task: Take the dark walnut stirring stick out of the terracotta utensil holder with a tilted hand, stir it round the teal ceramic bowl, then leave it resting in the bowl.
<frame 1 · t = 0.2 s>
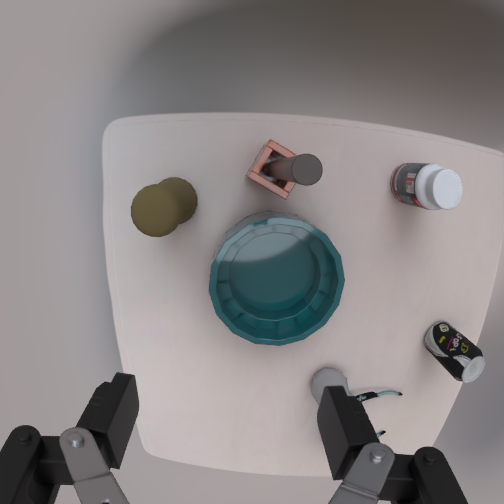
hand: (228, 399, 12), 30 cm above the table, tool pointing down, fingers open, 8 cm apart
salt shaker: (325, 376, 48), on the table
cork: (174, 201, 40), on the table
beverage can: (435, 333, 47), on the table
stick: (271, 169, 39), resting on holder
pill bottle: (406, 183, 41), on the table
bowl: (272, 270, 42), on the table
holder: (270, 169, 39), on the table
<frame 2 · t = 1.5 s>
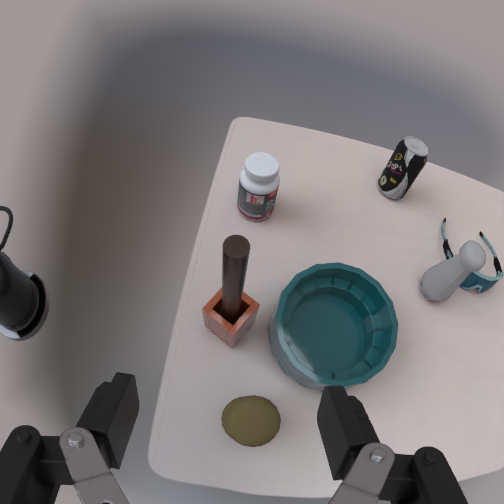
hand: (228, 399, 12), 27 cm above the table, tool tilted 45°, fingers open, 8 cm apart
salt shaker: (429, 290, 47), on the table
cork: (246, 419, 36), on the table
sunglasses: (466, 258, 51), on the table
beverage can: (389, 190, 56), on the table
stick: (229, 323, 41), resting on holder
pill bottle: (255, 208, 51), on the table
bowl: (326, 334, 42), on the table
holder: (229, 324, 42), on the table
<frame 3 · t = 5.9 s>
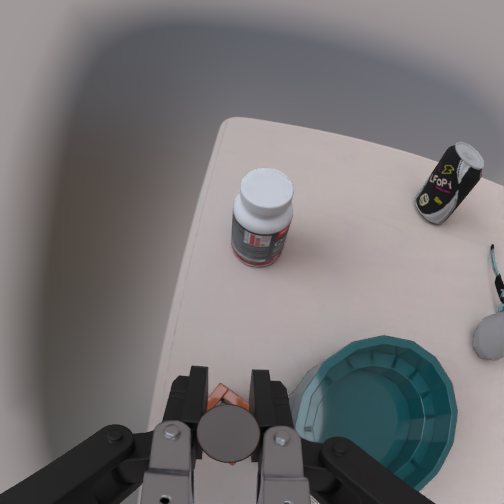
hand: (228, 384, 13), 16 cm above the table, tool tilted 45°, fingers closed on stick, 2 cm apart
salt shaker: (481, 343, 32), on the table
beverage can: (428, 211, 42), on the table
stick: (226, 423, 26), point 1 cm above the table, touching gripper, holder
pill bottle: (256, 246, 36), on the table
bowl: (359, 425, 27), on the table
holder: (226, 423, 27), on the table
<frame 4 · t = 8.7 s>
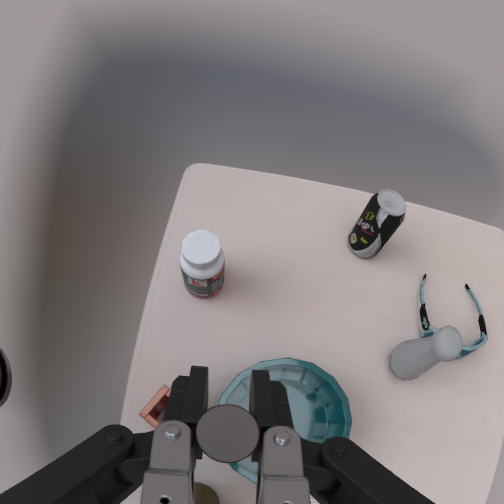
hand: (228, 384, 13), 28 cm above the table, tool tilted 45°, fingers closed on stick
salt shaker: (400, 363, 42), on the table
cork: (195, 502, 31), on the table
sunglasses: (447, 318, 46), on the table
beverage can: (361, 245, 52), on the table
stick: (226, 423, 26), point 12 cm above the table, touching gripper
pill bottle: (204, 281, 46), on the table
bowl: (277, 423, 37), on the table
holder: (175, 413, 37), on the table
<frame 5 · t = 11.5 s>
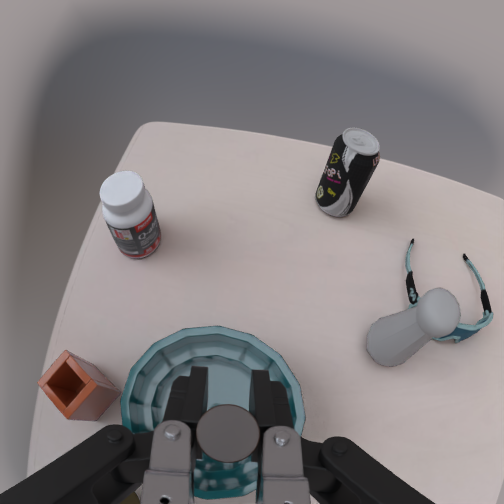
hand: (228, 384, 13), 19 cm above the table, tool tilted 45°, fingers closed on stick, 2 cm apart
salt shaker: (380, 346, 34), on the table
cork: (114, 502, 23), on the table
sunglasses: (442, 293, 38), on the table
beverage can: (333, 203, 44), on the table
stick: (226, 423, 26), point 3 cm above the table, touching gripper
pill bottle: (139, 240, 39), on the table
bowl: (213, 414, 29), on the table
holder: (93, 392, 29), on the table
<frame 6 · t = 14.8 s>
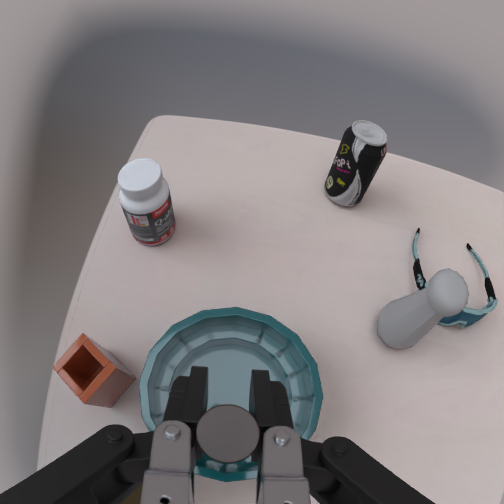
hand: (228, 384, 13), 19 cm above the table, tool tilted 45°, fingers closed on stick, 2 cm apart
salt shaker: (390, 330, 35), on the table
cork: (128, 491, 24), on the table
sunglasses: (447, 281, 39), on the table
beverage can: (341, 194, 45), on the table
stick: (226, 423, 26), point 3 cm above the table, touching gripper
pill bottle: (154, 228, 39), on the table
bowl: (229, 398, 30), on the table
holder: (108, 378, 30), on the table
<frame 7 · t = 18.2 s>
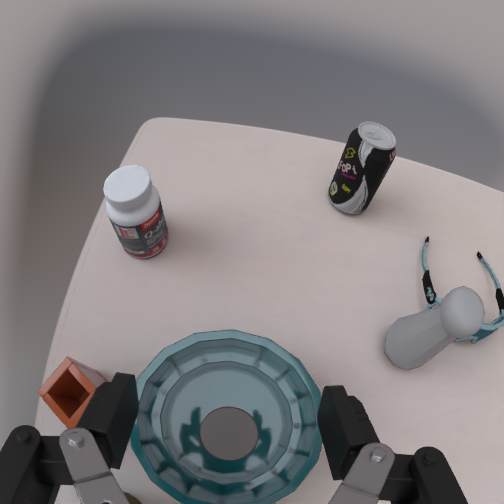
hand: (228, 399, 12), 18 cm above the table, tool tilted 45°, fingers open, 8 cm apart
salt shaker: (398, 348, 32), on the table
sunglasses: (457, 292, 36), on the table
beverage can: (346, 201, 42), on the table
stick: (226, 423, 27), point 1 cm above the table, touching bowl
pill bottle: (145, 239, 37), on the table
bowl: (226, 423, 27), on the table
holder: (98, 400, 27), on the table
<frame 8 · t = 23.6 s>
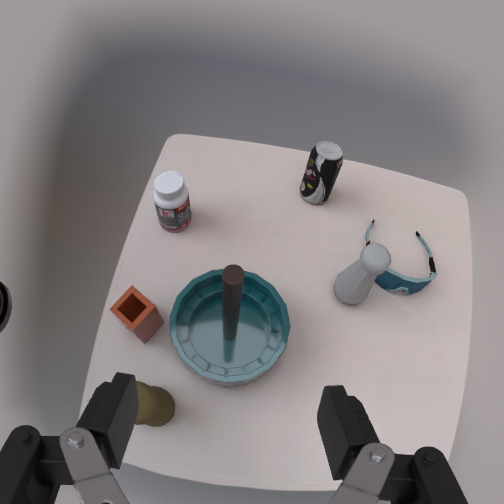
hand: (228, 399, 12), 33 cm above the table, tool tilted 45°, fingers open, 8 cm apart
salt shaker: (346, 292, 51), on the table
cork: (154, 406, 40), on the table
sunglasses: (396, 259, 56), on the table
beverage can: (313, 195, 61), on the table
stick: (229, 333, 46), point 1 cm above the table, touching bowl
pill bottle: (175, 220, 56), on the table
bowl: (229, 334, 46), on the table
holder: (143, 323, 46), on the table
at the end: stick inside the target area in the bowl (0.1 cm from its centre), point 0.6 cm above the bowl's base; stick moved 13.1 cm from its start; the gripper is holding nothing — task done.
